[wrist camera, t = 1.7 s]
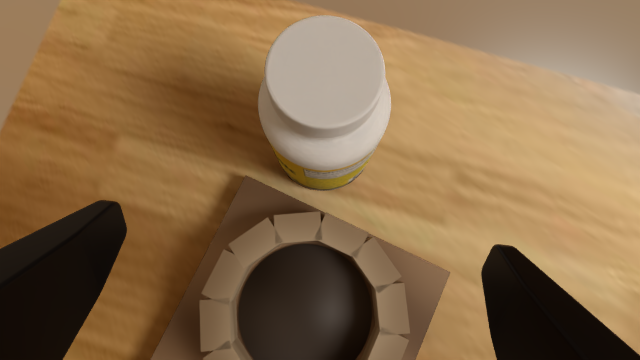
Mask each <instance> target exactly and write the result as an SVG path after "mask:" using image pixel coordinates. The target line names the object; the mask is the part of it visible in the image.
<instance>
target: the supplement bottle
mask: <svg viewBox="0 0 640 360" xmlns="http://www.w3.org/2000/svg"><path fill="white" fill-rule="evenodd" d="M264 73H265V76H264V78H263V81H262V84H261V87H260V91H259V97H258V112H259V117H260V122H261V125H262V128H263V130H264V133H265V135H266V137H267V139H268V141H269V143H270V145H271V147H272V149H273V151H274V153H275V154H276V156H277V158H278V161H279V163H280V164H281V166H282V168H283V169H284V171H285V172H286V173H287V174H288V176H289V177H290V178H291V179H293V180H294V181H295V182H296V183H298V184H300V185H302V186H304V187H306V188H309V189H313V190H320V191H327V190H334V189H337V188H341V187H343V186H345V185H347V184H349V183H350V182H352V181H353V180H354V179H355V178H357V177H358V176H359V175H360V173H361V172H362V171H363V169H364V168H365V166H366V164H367V163H368V161H369V159H370V158H371V156H372V154H373V152H374V151H375V149H376V147H377V145H378V143H379V142H380V140H381V138H382V136H383V134H384V132H385V130H386V128H387V124H388V121H389V117H390V111H391V96H390V91H389V86H388V83H387V81H386V78H385V64H384V59H383V56H382V53H381V51H380V49H379V47H378V45H377V43H376V42H375V40H374V39H373V38H372V36H371V35H370V34H369V33H368V32H367V31H365V30H364V29H363V28H362V27H360V26H359V25H357V24H356V23H354V22H352V21H350V20H347V19H344V18H341V17H336V16H328V15H319V16H313V17H309V18H305V19H302V20H300V21H298V22H295V23H294V24H292V25H290V26H289V27H288V28H286V29H285V30H284V31H283V32H282V33H281V34H280V35H279V36H278V37H277V38H276V40H275V41H274V43H273V44H272V46H271V48H270V50H269V52H268V55H267V58H266V63H265V72H264Z"/></svg>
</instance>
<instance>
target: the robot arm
mask: <svg viewBox="0 0 640 360" xmlns="http://www.w3.org/2000/svg"><path fill="white" fill-rule="evenodd" d="M126 233H127V227H126V223H125V220H124V216H123V213H122V209H121V206H120V204H119V203H118V202H115V201H106V200H100V201H97V202H95V203H93V204H91V205H89V206H87V207H85V208H83V209H80V210H78V211H76V212H74V213H72V214H70V215H68V216H66V217H64V218H62V219H60V220H58V221H56V222H54V223H52V224H50V225H48V226H46V227H44V228H42V229H40V230H38V231H36V232H34V233H32V234H30V235H27V236H25V237H23V238H21V239H19V240H17V241H15V242H13V243H11V244H9V245H7V246H5V247H3V248H1V249H0V360H63V358H64V356H65V355H66V353H67V351H68V349H69V348H70V346H71V344H72V342H73V341H74V339H75V337H76V335H77V334H78V332H79V330H80V328H81V327H82V325H83V323H84V321H85V320H86V318H87V316H88V314H89V313H90V311H91V309H92V307H93V306H94V304H95V302H96V300H97V299H98V297H99V295H100V293H101V291H102V289H103V287H104V285H105V283H106V280H107V278H108V276H109V274H110V271H111V269H112V267H113V264H114V262H115V260H116V257H117V255H118V253H119V251H120V248H121V246H122V244H123V241H124V239H125V237H126ZM481 275H482V283H483V290H484V296H485V303H486V309H487V316H488V322H489V328H490V334H491V338H492V343H493V347H494V350H495V354H496V358H497V360H640V355H639V354H638V353H636V352H635V351H634V350H633V349H632V348H631V347H629V346H628V345H627V344H626V343H625V342H624V341H623V340H621V339H620V338H619V337H618V336H617V335H616V334H614V333H613V332H612V331H611V330H610V329H609V328H608V327H606V326H605V325H604V324H603V323H602V322H601V321H599V320H598V319H597V318H596V317H595V316H594V315H592V314H591V313H590V312H589V311H588V310H587V309H586V308H584V307H583V306H582V305H581V304H580V303H579V302H577V301H576V300H575V299H574V298H573V297H572V296H571V295H569V294H568V293H567V292H566V291H565V290H564V289H562V288H561V287H560V286H559V285H558V284H557V283H556V282H554V281H553V280H552V279H551V278H550V277H549V276H547V275H546V274H545V273H544V272H543V271H542V270H540V269H539V268H538V267H537V266H536V265H535V264H534V263H532V262H531V261H530V260H529V259H528V258H527V257H525V256H524V255H523V254H522V253H521V252H520V251H519V250H517V249H516V248H515V247H513V246H509V245H500V244H497V245H494V246H493V247H492V249H491V251H490V253H489V255H488V257H487V259H486V261H485V263H484V265H483V268H482V273H481Z"/></svg>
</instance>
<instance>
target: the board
mask: <svg viewBox="0 0 640 360" xmlns="http://www.w3.org/2000/svg"><path fill="white" fill-rule="evenodd" d="M449 274H450V272H449V271H447V270H445V269H443V268H441V267H439V266H436V265H434V264H432V263H430V262H428V261H426V260H424V259H422V258H420V257H417V256H415V255H413V254H411V253H409V252H407V251H405V250H403V249H401V248H398V247H396V246H394V245H392V244H390V243H388V242H386V241H384V240H381V239H379V238H377V237H375V236H373V235H371V234H369V233H368V232H366V231H364V230H362V229H360V228H358V227H356V226H354V225H351V224H349V223H347V222H345V221H343V220H341V219H339V218H337V217H334V216H332V215H330V214H328V213H324V212H322V211H320V210H318V209H316V208H314V207H312V206H310V205H307V204H305V203H303V202H301V201H299V200H297V199H295V198H293V197H291V196H288V195H286V194H284V193H282V192H280V191H278V190H276V189H274V188H272V187H269V186H267V185H265V184H263V183H261V182H259V181H257V180H255V179H252V178H250V177H248V176H245V178H244V180H243V182H242V184H241V186H240V188H239V189H238V191H237V193H236V195H235V197H234V199H233V201H232V203H231V205H230V207H229V209H228V211H227V213H226V215H225V216H224V218H223V220H222V222H221V224H220V226H219V228H218V230H217V232H216V234H215V236H214V238H213V240H212V242H211V244H210V245H209V247H208V249H207V251H206V253H205V255H204V257H203V259H202V261H201V263H200V265H199V267H198V269H197V271H196V273H195V274H194V276H193V278H192V280H191V282H190V284H189V286H188V288H187V290H186V292H185V294H184V296H183V298H182V300H181V301H180V303H179V305H178V307H177V309H176V311H175V313H174V315H173V317H172V319H171V321H170V323H169V325H168V327H167V329H166V330H165V332H164V334H163V336H162V338H161V340H160V342H159V344H158V346H157V348H156V350H155V352H154V354H153V356H152V357H151V359H150V360H415V359H416V357H417V354H418V352H419V349H420V347H421V344H422V342H423V339H424V337H425V334H426V332H427V329H428V327H429V324H430V322H431V319H432V317H433V314H434V312H435V309H436V307H437V304H438V302H439V299H440V297H441V294H442V292H443V289H444V287H445V284H446V282H447V279H448V277H449Z"/></svg>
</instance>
